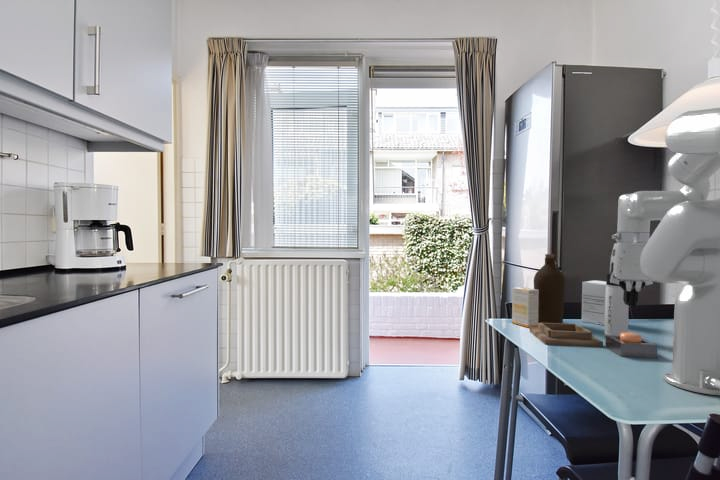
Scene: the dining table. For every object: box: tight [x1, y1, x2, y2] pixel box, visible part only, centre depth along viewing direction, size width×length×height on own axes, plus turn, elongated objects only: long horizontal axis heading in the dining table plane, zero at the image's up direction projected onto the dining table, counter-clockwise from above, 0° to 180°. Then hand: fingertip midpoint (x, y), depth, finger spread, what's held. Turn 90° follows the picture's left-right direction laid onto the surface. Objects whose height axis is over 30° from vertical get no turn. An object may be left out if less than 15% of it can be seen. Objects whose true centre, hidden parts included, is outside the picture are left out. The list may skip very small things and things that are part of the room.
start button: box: [620, 331, 643, 343], centre depth 117 cm, size 5×5×3 cm
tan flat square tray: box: [529, 322, 604, 348], centre depth 131 cm, size 16×16×4 cm
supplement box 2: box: [581, 279, 607, 326], centre depth 156 cm, size 9×9×15 cm
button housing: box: [605, 335, 658, 359], centre depth 117 cm, size 9×9×4 cm
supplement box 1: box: [511, 286, 539, 328], centre depth 150 cm, size 8×5×13 cm, turn 22°
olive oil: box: [533, 253, 567, 323], centre depth 155 cm, size 11×11×25 cm
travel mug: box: [604, 273, 630, 338], centre depth 133 cm, size 6×7×20 cm
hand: (630, 304), depth 117 cm, fingers closed
